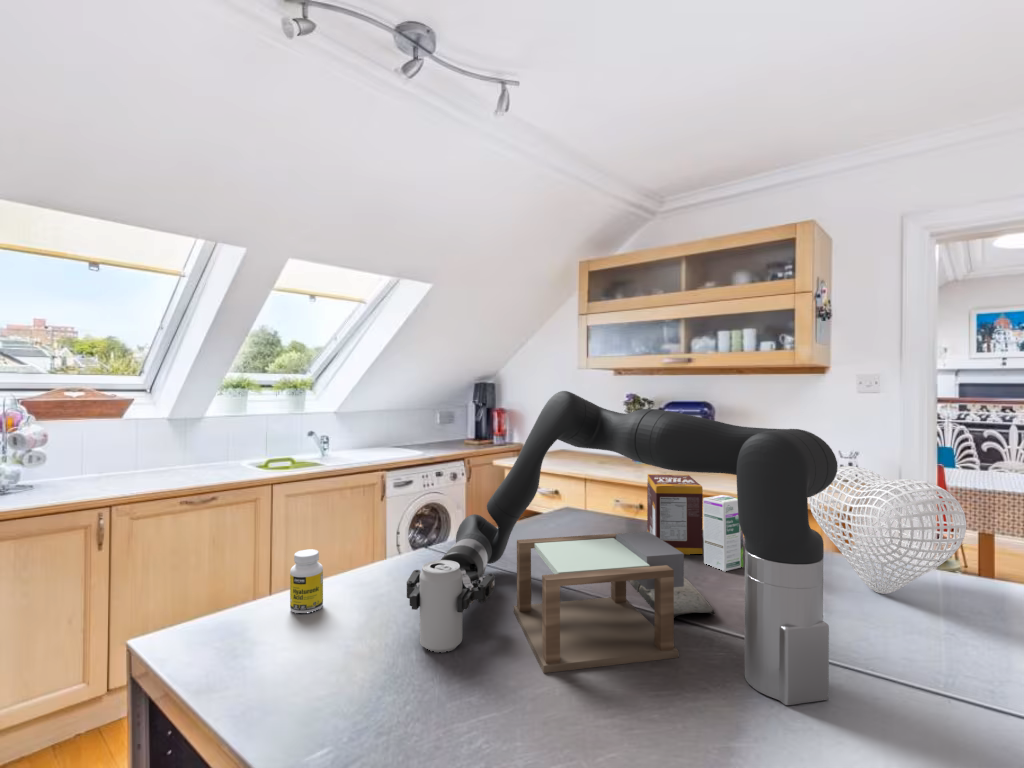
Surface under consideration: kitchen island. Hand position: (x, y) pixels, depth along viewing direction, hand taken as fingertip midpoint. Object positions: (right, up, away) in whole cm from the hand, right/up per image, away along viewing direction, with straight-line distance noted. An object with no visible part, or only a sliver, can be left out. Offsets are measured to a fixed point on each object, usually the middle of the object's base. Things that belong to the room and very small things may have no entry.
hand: (436, 604), depth 81 cm
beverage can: (0, -7, +2) cm, 8 cm away
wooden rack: (+23, -7, +6) cm, 25 cm away
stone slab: (+39, -7, +25) cm, 47 cm away
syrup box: (+56, -6, +36) cm, 67 cm away
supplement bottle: (-25, -7, +16) cm, 30 cm away
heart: (+79, -7, +22) cm, 82 cm away
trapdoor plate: (+26, +2, +6) cm, 27 cm away
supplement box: (+50, -6, +51) cm, 72 cm away
